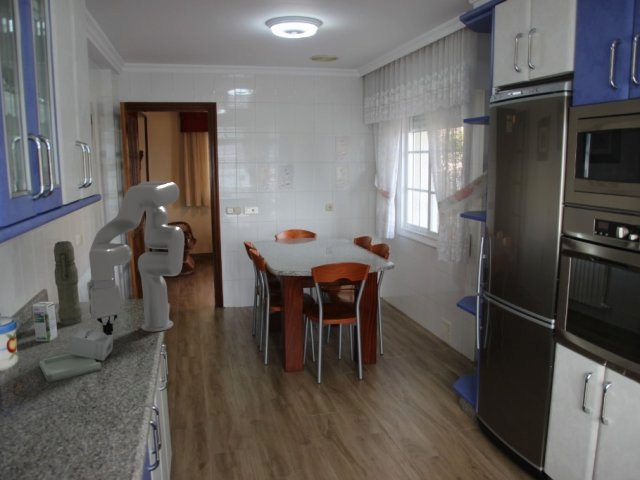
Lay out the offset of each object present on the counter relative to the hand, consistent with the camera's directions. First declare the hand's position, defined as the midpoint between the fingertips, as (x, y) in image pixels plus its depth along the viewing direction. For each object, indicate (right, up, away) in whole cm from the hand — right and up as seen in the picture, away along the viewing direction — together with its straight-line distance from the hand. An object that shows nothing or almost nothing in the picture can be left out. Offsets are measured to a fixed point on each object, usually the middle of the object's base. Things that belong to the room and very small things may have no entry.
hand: (108, 334), depth 182 cm
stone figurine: (-33, -3, +41) cm, 53 cm away
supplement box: (0, -5, +1) cm, 5 cm away
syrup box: (-33, -6, +21) cm, 40 cm away
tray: (-10, -10, -6) cm, 16 cm away
